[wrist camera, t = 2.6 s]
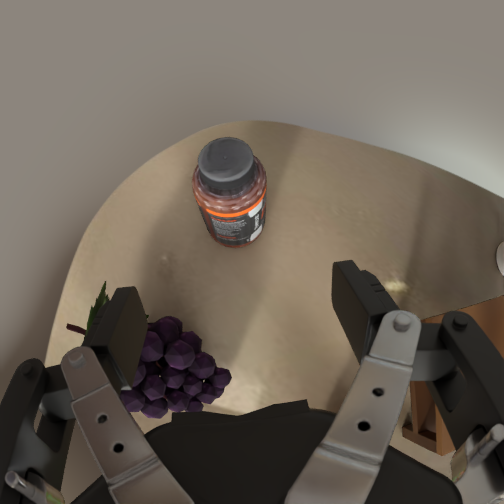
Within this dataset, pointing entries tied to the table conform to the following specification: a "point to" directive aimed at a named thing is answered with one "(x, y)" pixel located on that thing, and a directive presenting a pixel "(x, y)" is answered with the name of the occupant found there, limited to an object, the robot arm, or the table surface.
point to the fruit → (169, 369)
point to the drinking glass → (500, 257)
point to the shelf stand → (423, 406)
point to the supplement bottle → (230, 191)
